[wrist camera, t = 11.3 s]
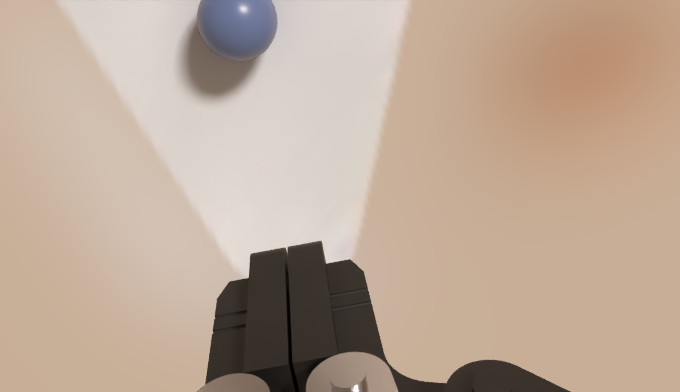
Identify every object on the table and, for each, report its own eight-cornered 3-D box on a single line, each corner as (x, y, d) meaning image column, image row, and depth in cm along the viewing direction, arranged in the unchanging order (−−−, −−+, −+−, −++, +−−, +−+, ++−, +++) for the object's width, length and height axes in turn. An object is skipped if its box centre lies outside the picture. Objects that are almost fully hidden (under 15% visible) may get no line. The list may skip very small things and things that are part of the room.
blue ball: (210, 83, 38) (206, 28, 41) (286, 70, 38) (278, 16, 41) (188, 25, 34) (185, -32, 36) (274, 11, 34) (265, -45, 37)
